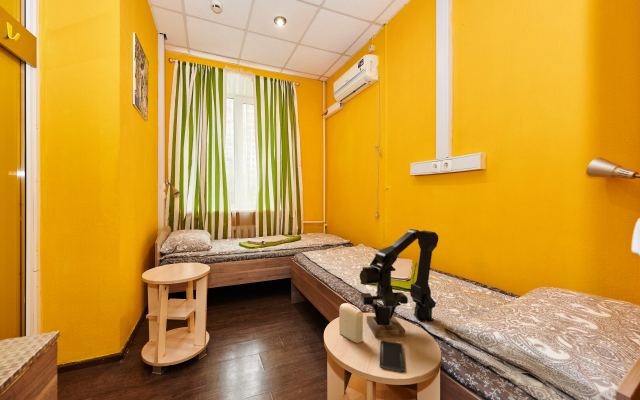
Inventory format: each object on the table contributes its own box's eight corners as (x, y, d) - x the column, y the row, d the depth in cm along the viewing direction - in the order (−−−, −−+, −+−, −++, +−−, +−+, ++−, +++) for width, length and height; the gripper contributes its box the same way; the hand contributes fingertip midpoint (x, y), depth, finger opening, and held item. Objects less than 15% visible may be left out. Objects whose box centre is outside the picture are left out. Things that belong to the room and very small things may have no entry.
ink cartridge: (389, 325, 106) (390, 306, 106) (388, 327, 104) (389, 308, 104) (378, 322, 108) (378, 303, 108) (376, 324, 106) (377, 305, 106)
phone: (379, 366, 80) (380, 340, 94) (379, 369, 80) (380, 343, 94) (405, 370, 78) (402, 343, 92) (405, 374, 78) (402, 346, 92)
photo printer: (337, 333, 101) (337, 302, 101) (345, 329, 103) (345, 299, 103) (356, 344, 93) (357, 311, 93) (364, 340, 95) (364, 308, 95)
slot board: (393, 321, 111) (393, 315, 111) (405, 336, 99) (405, 330, 99) (366, 321, 110) (366, 316, 110) (375, 337, 98) (375, 331, 98)
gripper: (367, 288, 97) (367, 329, 97) (414, 287, 99) (413, 327, 99) (360, 279, 108) (360, 315, 108) (402, 278, 110) (401, 314, 110)
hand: (383, 318), depth 106 cm, fingers closed on ink cartridge, 5 cm apart
